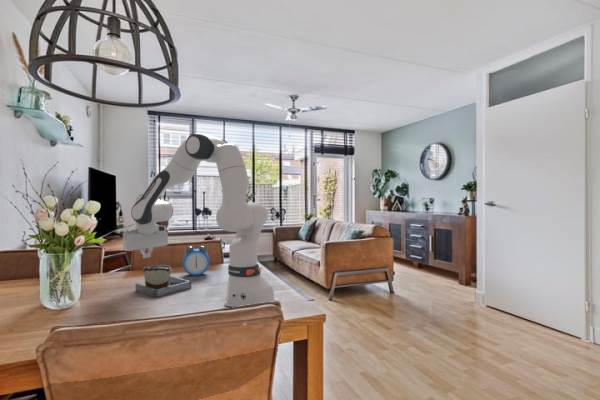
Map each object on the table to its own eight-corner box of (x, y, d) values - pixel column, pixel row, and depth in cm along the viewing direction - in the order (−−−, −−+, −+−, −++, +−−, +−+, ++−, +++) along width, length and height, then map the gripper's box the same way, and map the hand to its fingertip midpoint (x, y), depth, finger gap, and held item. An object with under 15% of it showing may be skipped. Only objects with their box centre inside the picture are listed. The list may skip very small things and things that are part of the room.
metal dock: (191, 287, 143) (191, 281, 143) (155, 297, 129) (154, 290, 129) (171, 281, 152) (171, 275, 152) (135, 290, 138) (135, 283, 138)
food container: (175, 285, 146) (175, 264, 146) (170, 289, 140) (170, 267, 140) (148, 285, 146) (148, 264, 145) (142, 290, 139) (142, 267, 139)
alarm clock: (182, 277, 161) (182, 247, 160) (183, 274, 167) (183, 245, 166) (209, 275, 165) (209, 246, 165) (209, 272, 171) (209, 244, 170)
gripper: (126, 231, 139) (127, 262, 139) (169, 226, 155) (170, 255, 155) (119, 230, 142) (120, 260, 142) (162, 226, 159) (163, 253, 159)
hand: (146, 257), depth 149 cm, fingers closed
